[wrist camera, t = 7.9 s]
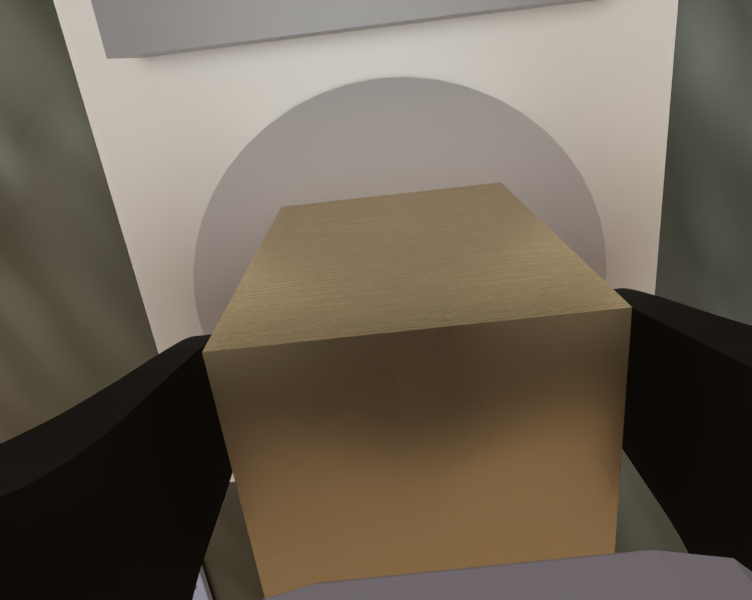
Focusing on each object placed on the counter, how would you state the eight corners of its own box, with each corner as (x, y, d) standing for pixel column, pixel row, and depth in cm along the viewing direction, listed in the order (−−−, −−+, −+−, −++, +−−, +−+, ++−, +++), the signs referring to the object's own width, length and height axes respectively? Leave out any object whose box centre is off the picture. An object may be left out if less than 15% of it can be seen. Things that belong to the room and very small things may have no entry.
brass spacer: (505, 373, 15) (610, 613, 9) (314, 393, 15) (276, 643, 9) (500, 182, 13) (631, 306, 7) (281, 206, 13) (201, 352, 7)
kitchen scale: (615, 400, 18) (702, 521, 14) (214, 443, 19) (163, 575, 14) (647, -182, 13) (819, -324, 8) (64, -103, 13) (-110, -193, 8)
